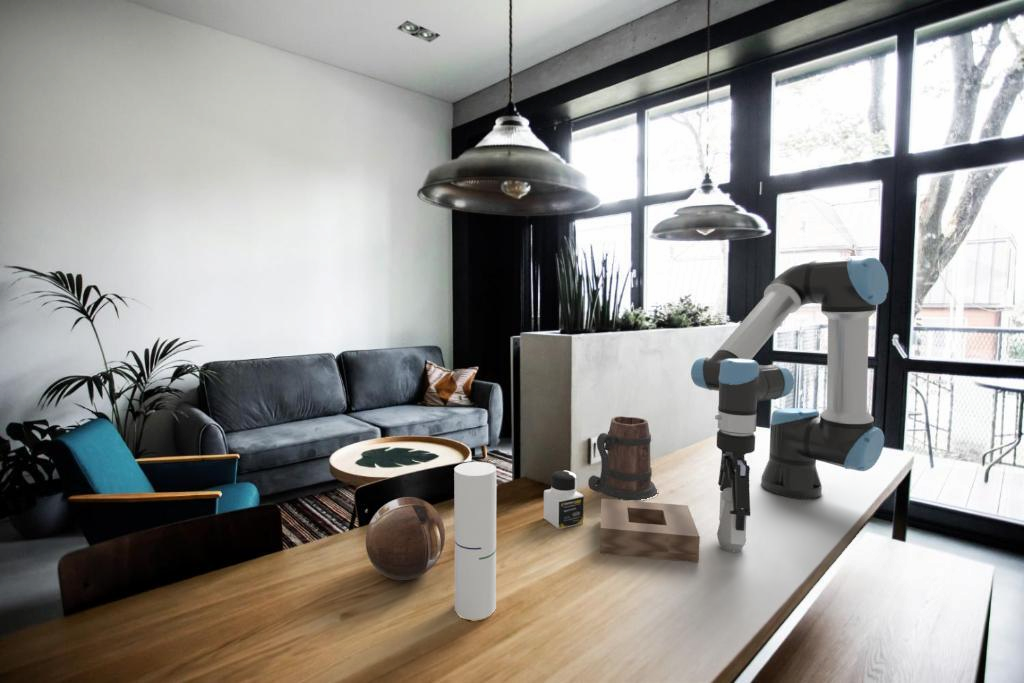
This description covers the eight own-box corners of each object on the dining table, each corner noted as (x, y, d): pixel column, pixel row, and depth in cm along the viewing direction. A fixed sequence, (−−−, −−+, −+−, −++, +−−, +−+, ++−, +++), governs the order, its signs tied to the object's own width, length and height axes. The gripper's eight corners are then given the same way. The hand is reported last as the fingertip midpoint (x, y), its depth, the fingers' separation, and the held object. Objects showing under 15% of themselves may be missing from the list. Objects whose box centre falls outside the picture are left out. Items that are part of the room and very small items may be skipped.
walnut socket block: (686, 527, 120) (687, 505, 120) (698, 562, 104) (699, 536, 104) (600, 520, 124) (601, 498, 123) (599, 552, 108) (600, 527, 108)
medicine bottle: (558, 530, 119) (559, 480, 118) (543, 518, 125) (543, 470, 124) (583, 523, 122) (584, 475, 121) (567, 512, 128) (568, 466, 127)
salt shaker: (740, 542, 113) (742, 485, 112) (749, 554, 108) (752, 495, 106) (713, 540, 114) (715, 484, 113) (720, 553, 108) (723, 494, 107)
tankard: (623, 474, 156) (625, 410, 154) (671, 491, 143) (673, 421, 141) (568, 492, 142) (569, 421, 140) (615, 512, 129) (617, 435, 127)
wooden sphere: (354, 570, 101) (353, 496, 99) (423, 548, 110) (422, 480, 108) (385, 607, 89) (384, 524, 87) (459, 578, 98) (459, 503, 96)
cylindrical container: (455, 597, 92) (454, 462, 90) (494, 595, 92) (495, 461, 90) (454, 622, 85) (453, 476, 82) (497, 620, 85) (497, 475, 83)
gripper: (707, 418, 120) (703, 509, 122) (729, 445, 98) (725, 555, 100) (741, 419, 119) (736, 511, 121) (771, 447, 97) (765, 559, 99)
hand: (731, 531), depth 110 cm, fingers open, 10 cm apart
